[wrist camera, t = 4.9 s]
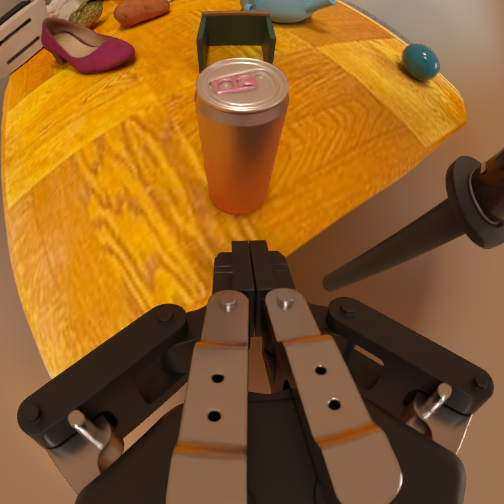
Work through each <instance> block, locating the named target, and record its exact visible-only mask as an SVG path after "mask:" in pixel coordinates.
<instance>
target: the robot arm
mask: <svg viewBox="0 0 504 504" xmlns="http://www.w3.org/2000/svg"><path fill="white" fill-rule="evenodd" d="M467 186H468V192H469V195H470V198H471V201H472V203H473V205H474V207H475V209H476V211H477V212H478V214H479V215H480V216H481V218H482V219H483V220H484V221H485V222H486V223H488V224H490V225H496V226H497V227H498V228H500V227H502V226H504V147H503V148H502V149H501V150H500V151H499V152H497V153H496V154H495V155H494V156H493V157H491V158H490V159H489V160H488V161H487V162H486V161H485V162H484V163H482V165H481V166H480V167H479V168H477V169H476V170H474V171H473V172H472V173H470V174H469V176H468V179H467ZM254 329H255V336H262V341H263V345H262V354H263V358H264V362H265V367H266V371H267V375H268V379H269V383H270V388H271V392H272V394H261V393H254V392H248V351H249V349H250V337H254ZM355 345H358V346H360V347H361V348H363V349H365V350H366V351H368V352H370V353H371V354H373V355H375V356H376V357H378V358H380V359H381V360H382V361H383V363H384V366H382V365H380V364H378V363H377V362H375V361H373V360H372V359H370V358H368V357H367V356H365V355H363V354H362V353H360V352H358V351H357V350H355V349H354V348H355ZM186 382H188V383H187V388H186V394H185V400H184V403H182V404H180V405H178V406H176V407H175V408H173V409H171V410H170V411H169V412H167V413H166V414H165V415H164V416H163V417H162V418H160V419H159V420H158V421H157V422H156V423H155V424H154V425H153V426H152V427H151V428H150V429H149V430H148V431H147V432H146V433H145V434H144V435H143V436H142V437H141V438H140V439H138V440H137V441H136V442H135V443H134V444H133V445H132V446H131V447H130V448H129V449H128V450H127V451H125V453H123V450H124V442H123V438H124V437H125V436H127V434H129V433H130V432H131V431H133V430H134V429H135V428H136V427H137V426H138V425H140V423H142V422H143V421H144V420H145V419H146V418H148V417H149V416H150V415H151V414H152V413H153V412H154V411H156V410H157V409H158V408H159V407H160V406H161V405H162V404H163V403H164V402H166V401H167V400H168V399H169V398H170V397H171V396H172V395H173V394H174V393H176V392H177V391H178V390H179V389H180V388H181V387H182V386H183V385H184V384H185V383H186ZM493 390H494V384H493V381H492V378H491V377H490V375H489V374H488V373H487V372H486V371H485V370H483V369H482V368H480V367H478V366H476V365H475V364H472V363H471V362H469V361H467V360H466V359H464V358H462V357H460V356H458V355H456V354H455V353H453V352H451V351H449V350H447V349H446V348H444V347H442V346H440V345H438V344H436V343H435V342H433V341H431V340H429V339H427V338H426V337H424V336H422V335H420V334H418V333H416V332H415V331H413V330H411V329H409V328H407V327H405V326H404V325H402V324H400V323H398V322H396V321H394V320H393V319H390V318H389V317H387V316H385V315H383V314H382V313H379V312H378V311H376V310H374V309H372V308H370V307H368V306H367V305H365V304H363V303H361V302H359V301H357V300H355V299H353V298H349V297H339V298H336V299H334V300H332V301H331V302H330V304H329V307H325V306H318V305H313V304H310V303H308V302H306V300H305V298H304V296H303V295H302V294H301V293H299V292H298V291H296V289H295V286H294V283H293V281H292V277H291V274H290V271H289V268H288V265H287V262H286V260H285V257H284V256H283V255H282V254H281V253H280V252H279V251H268V247H267V243H266V240H256V241H249V244H248V241H232V252H221V253H219V254H218V256H217V257H216V258H215V262H214V275H213V290H212V296H211V297H210V298H209V300H208V303H207V305H206V306H204V307H203V308H201V309H198V310H195V311H191V312H187V313H186V312H185V310H184V309H183V308H182V307H180V306H178V305H175V304H162V305H159V306H156V307H154V308H153V309H151V310H150V311H148V312H147V313H145V314H144V315H142V316H141V317H140V318H138V319H137V320H135V321H134V322H132V323H131V324H130V325H128V326H127V327H125V328H124V329H123V330H121V331H120V332H118V333H117V334H115V335H114V336H113V337H111V338H110V339H108V340H107V341H105V342H104V343H103V344H101V345H100V346H98V347H97V348H96V349H94V350H93V351H91V352H90V353H89V354H87V355H86V356H84V357H83V358H82V359H80V360H79V361H77V362H76V363H75V364H73V365H72V366H70V367H69V368H68V369H66V370H65V371H63V372H62V373H61V374H59V375H58V376H56V377H55V378H54V379H52V380H51V381H49V382H48V383H47V384H45V385H44V386H43V387H41V388H40V389H39V390H37V391H36V392H35V393H33V394H32V395H30V396H29V397H27V398H26V399H25V400H24V401H23V402H22V403H21V405H20V406H19V409H18V413H17V420H18V424H19V426H20V428H21V429H22V430H23V431H24V432H25V433H26V434H27V435H29V436H30V437H31V438H32V439H33V440H35V441H36V442H37V443H38V444H39V445H40V446H41V447H43V448H44V449H45V450H46V451H47V452H48V454H49V456H50V457H51V459H52V460H53V462H54V463H55V465H56V466H57V468H58V469H59V471H60V472H61V474H62V475H63V476H64V478H65V479H66V481H67V482H68V483H69V485H70V486H71V487H72V488H73V490H74V491H75V492H76V494H77V495H78V496H77V499H76V501H75V504H463V501H464V493H465V487H466V472H465V468H464V466H463V464H462V462H461V460H460V459H459V457H457V453H458V451H459V449H460V446H461V444H462V441H463V439H464V437H465V434H466V431H467V429H468V426H469V423H470V420H471V417H472V415H473V414H474V413H475V412H476V411H477V410H478V409H479V408H480V407H481V406H482V405H483V404H484V403H485V402H486V401H487V400H488V399H489V398H490V397H491V395H492V394H493ZM122 453H123V454H122Z"/></svg>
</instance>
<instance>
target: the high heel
mask: <svg viewBox="0 0 504 504" xmlns="http://www.w3.org/2000/svg"><path fill="white" fill-rule="evenodd" d="M41 42H42V45H43V46H44V48H45V49H46V50H48V51H50V52H51V53H52V54H53V56H54V57H55V59H56V62H57V63H58V64H62V65H64V64H65V63H66V62H68V63H69V64H70V65H71V66H73V67H74V68H75V69H76V70H78V71H79V72H81V73H83V74H91V73H96V72H101V71H105V70H109V69H111V68H114V67H116V66H119V65H121V64H123V63H125V62H126V61H128V60H129V59H131V58H132V57H133V56H134V54H135V50H134V48H133V46H132V45H130V44H129V43H127V42H125V41H123V40H120V39H117V38H114V37H111V36H106V35H101V34H98V33H96V32H94V31H93V30H91V29H89V28H87V27H84V26H82V25H79V24H77V23H74V22H71V21H68V20H64V19H60V18H53V17H49V18H45V19H44V20H43V23H42V35H41Z"/></svg>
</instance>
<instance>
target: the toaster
mask: <svg viewBox="0 0 504 504" xmlns="http://www.w3.org/2000/svg"><path fill="white" fill-rule="evenodd" d="M45 18H49V14H47V7H46V5H45V3H44V0H34V1H32V2H30V3H29V4H28V5H26V6H25V7H23V8H22V9H21V10H19V11H18V12H17V13H15V14H14V15H13V16H11V17H10V18H9V19H8V20H6V21H5V22H4V23H3V24H1V25H0V81H1V80H2V79H4V78H5V77H6V76H8V75H9V74H10V73H12V72H13V71H14V70H16V69H17V68H18V67H19V66H21V65H22V64H23V63H24V62H26V61H27V60H28V59H29V58H30V57H32V56H33V55H34V54H35V53H36V52H37V51H39V50H40V49H41V48H42V47H43V45H42V42H41V35H42V23H43V20H44V19H45Z"/></svg>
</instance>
